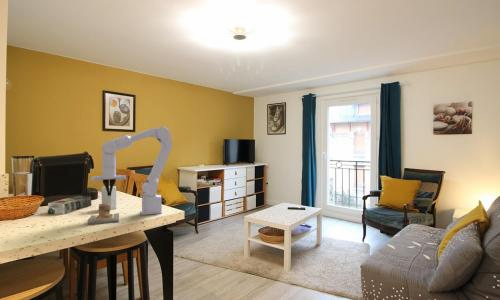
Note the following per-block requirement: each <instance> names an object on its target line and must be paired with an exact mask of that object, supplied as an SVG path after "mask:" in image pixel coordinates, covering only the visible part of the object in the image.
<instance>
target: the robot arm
mask: <svg viewBox="0 0 500 300" xmlns="http://www.w3.org/2000/svg"><path fill="white" fill-rule="evenodd" d="M146 138H155V139H156V140H158V142H159V144H160V150H159V152H158V154H157V157H156V158H155V161H154V163H153V167H152V168H151V170H150V173H149V175H148V176H147V178H146V180H145V181H144V182H143V183H142V184H141V190H142V192H143V193H142V194H141V210H140V215H141V216H145V215H157V214H162V208H163V207H162V195H161V194H158V193H157V192H158V185H159V180H160V178H161V175H162V172H163V170H164V167H165V165H166V163H167V160H168V158H169V156H170V153H171V151H172V149H173V142H172V133H171V132H170V129H168V127H166V126H159V127H158V126H157V127H154V128H149V129H145V130H143V131H141V132H138V133H135V134H133V135H128V134H125V135H124V134H121V135H120V137H117V138H114V139H113V138H110V140H107V141H105V142H103V144H102V145H101V150H102V154H101V155H102V157H101V159H102V160H101V162H102V163H101V164H102V165H101V167H102V172H101V173H102V175H98V176H91V182H96V181H97V182H99V181H102V184H103V186H105V188H106V190H107V194H108V196H111V192H112V189H113V186H115V184H116V181H119V180H124V181H125V180H127V175H126V174H123V175H121V174H118V175H117V163H116V162H117V160H116V159H117V157H116V151H121V150H123V149H126V148H130V147H131V146H132V145H133V143H135V142H138V141H141V140H144V139H146ZM109 186H110V192H109Z"/></svg>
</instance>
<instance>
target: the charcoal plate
mask: <svg viewBox="0 0 500 300" xmlns="http://www.w3.org/2000/svg"><path fill="white" fill-rule="evenodd" d="M119 221H120V213H119V212H117V213H110V218H104V219H99V214H97V215H95V214H94V215H90V216H89V220H88V222H87V225H88V226H92V225H103V224H111V223H112V224H113V223H119Z"/></svg>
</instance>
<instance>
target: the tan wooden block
mask: <svg viewBox="0 0 500 300" xmlns="http://www.w3.org/2000/svg"><path fill="white" fill-rule="evenodd" d="M110 214H111V210H110V203H107V204H102V203H99V204H98V215H99V219H104V218H110Z"/></svg>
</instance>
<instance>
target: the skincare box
mask: <svg viewBox="0 0 500 300" xmlns="http://www.w3.org/2000/svg"><path fill="white" fill-rule="evenodd" d="M109 192H110V185H109ZM107 203H110V211H112V210H116V209H117V185H114V186H113V189H112V192H111V196H108V194H107V190H106V188H105V185H103V186H101V204H107Z"/></svg>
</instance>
